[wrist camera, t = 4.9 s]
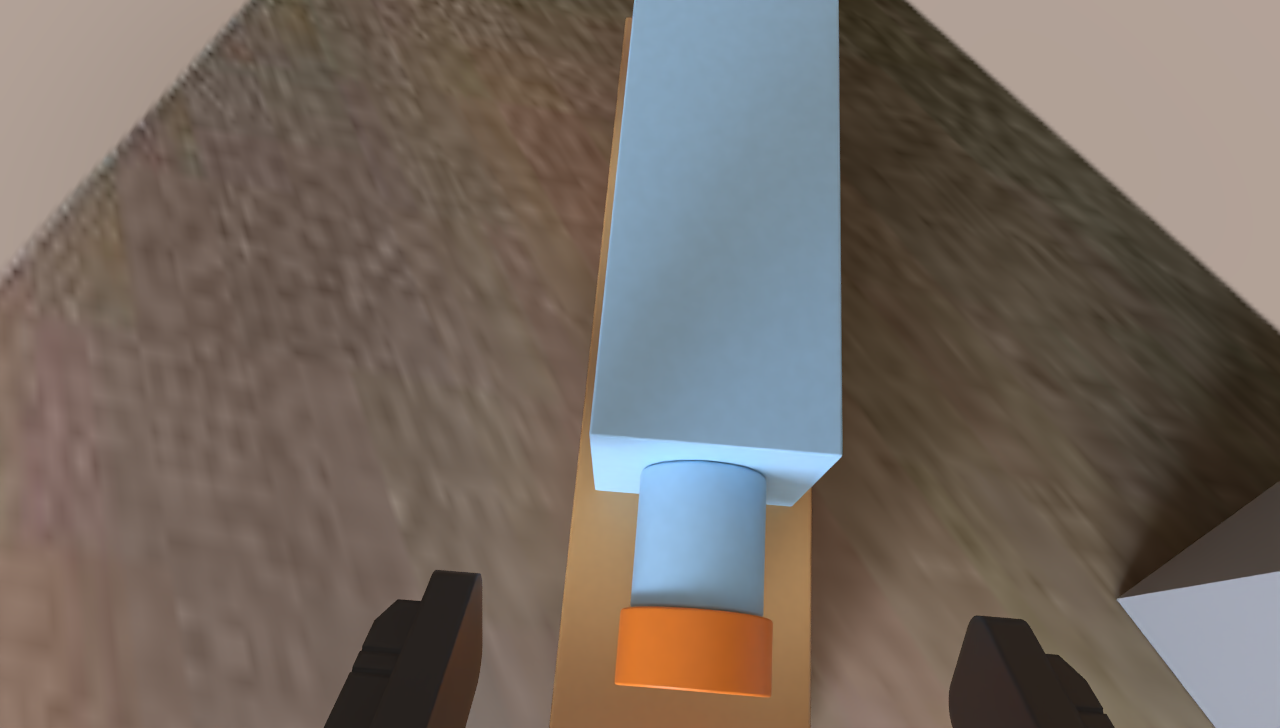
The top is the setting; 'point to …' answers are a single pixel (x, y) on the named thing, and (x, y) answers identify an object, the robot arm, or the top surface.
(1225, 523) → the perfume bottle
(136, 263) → the top surface
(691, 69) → the light blue bottle
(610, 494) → the wooden board
